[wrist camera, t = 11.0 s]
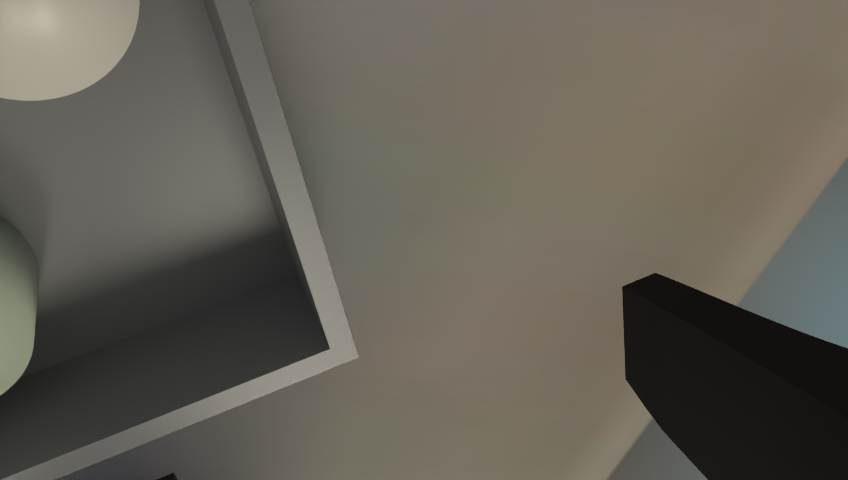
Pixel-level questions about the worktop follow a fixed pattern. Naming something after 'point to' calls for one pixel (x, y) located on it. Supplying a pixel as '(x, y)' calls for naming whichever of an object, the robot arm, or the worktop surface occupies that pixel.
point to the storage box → (147, 230)
